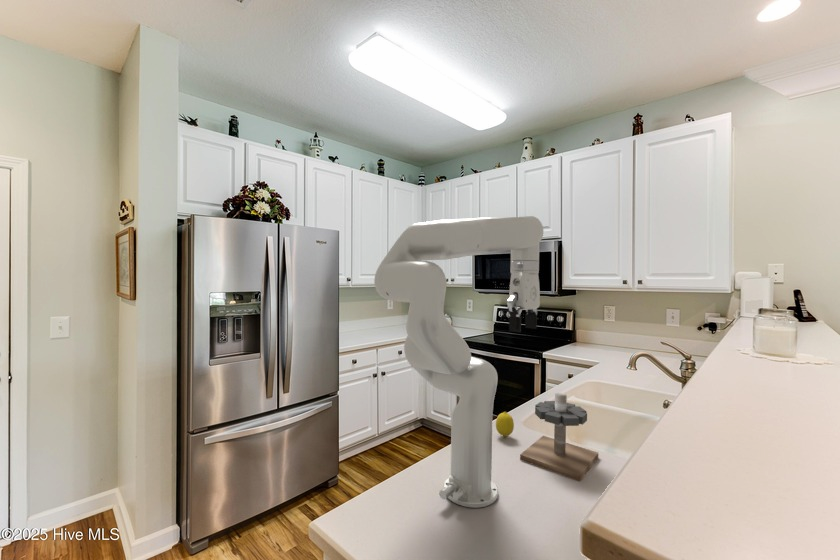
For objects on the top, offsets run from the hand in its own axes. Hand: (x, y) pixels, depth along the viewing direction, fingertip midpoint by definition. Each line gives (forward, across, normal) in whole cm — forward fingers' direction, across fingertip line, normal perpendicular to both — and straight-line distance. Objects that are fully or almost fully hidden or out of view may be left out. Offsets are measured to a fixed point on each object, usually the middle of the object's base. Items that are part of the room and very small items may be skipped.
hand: (523, 329), depth 101 cm
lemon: (+36, +10, +10) cm, 39 cm away
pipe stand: (+36, +8, -8) cm, 38 cm away
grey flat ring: (+24, +8, -8) cm, 27 cm away
